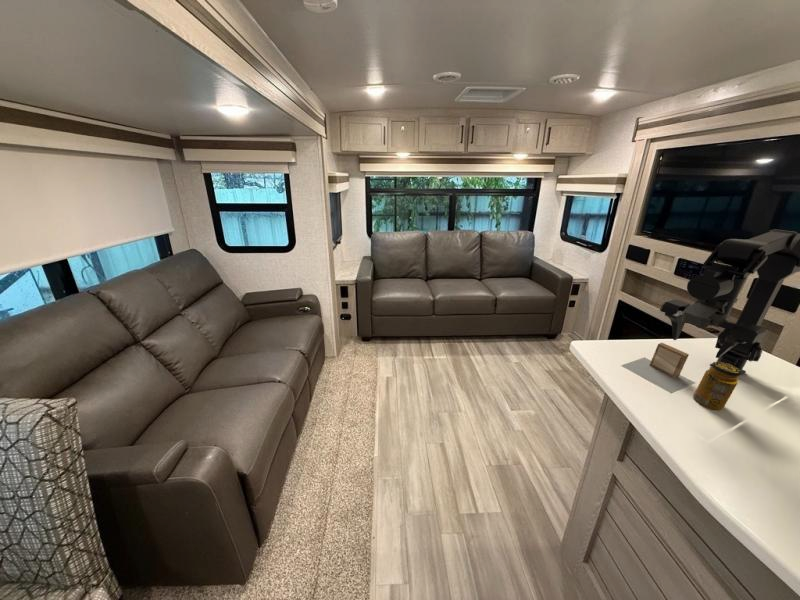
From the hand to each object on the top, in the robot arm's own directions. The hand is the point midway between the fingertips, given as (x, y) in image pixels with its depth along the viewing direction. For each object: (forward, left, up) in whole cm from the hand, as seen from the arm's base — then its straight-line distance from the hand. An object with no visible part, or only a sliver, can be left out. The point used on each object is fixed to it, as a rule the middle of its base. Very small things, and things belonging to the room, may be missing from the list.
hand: (695, 348), depth 80 cm
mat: (-4, -7, -15) cm, 17 cm away
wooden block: (-8, -7, -14) cm, 18 cm away
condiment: (-2, +6, -15) cm, 16 cm away
